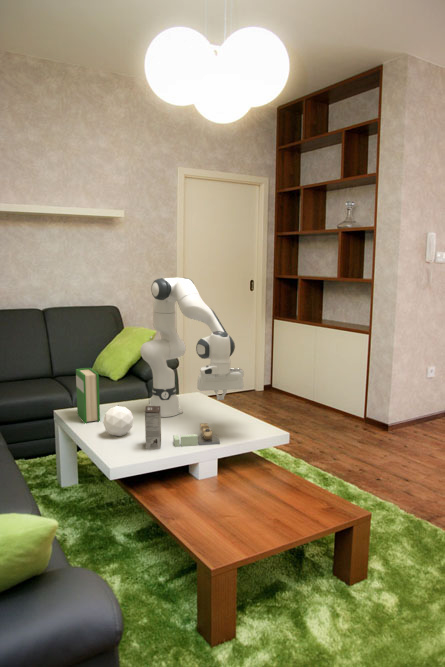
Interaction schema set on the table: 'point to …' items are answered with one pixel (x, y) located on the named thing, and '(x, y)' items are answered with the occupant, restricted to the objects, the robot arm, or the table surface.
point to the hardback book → (88, 394)
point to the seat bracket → (185, 440)
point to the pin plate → (207, 442)
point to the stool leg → (206, 431)
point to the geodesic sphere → (118, 420)
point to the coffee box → (153, 427)
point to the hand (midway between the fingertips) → (220, 399)
